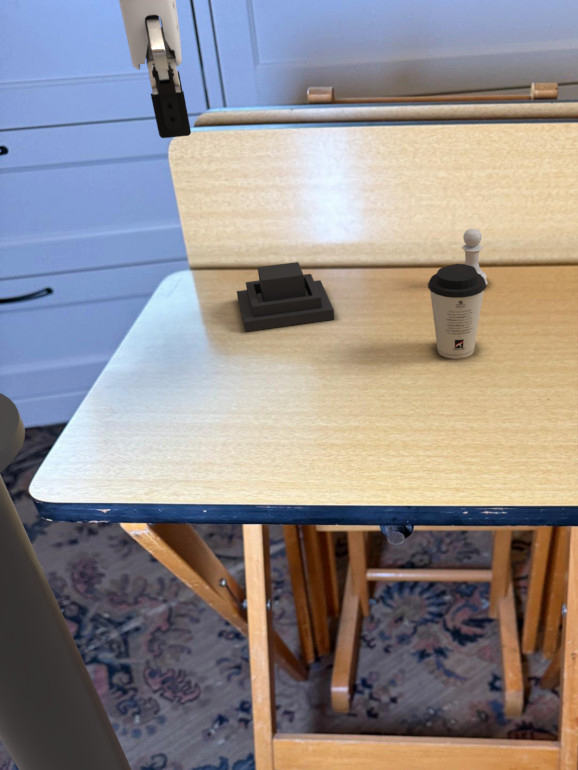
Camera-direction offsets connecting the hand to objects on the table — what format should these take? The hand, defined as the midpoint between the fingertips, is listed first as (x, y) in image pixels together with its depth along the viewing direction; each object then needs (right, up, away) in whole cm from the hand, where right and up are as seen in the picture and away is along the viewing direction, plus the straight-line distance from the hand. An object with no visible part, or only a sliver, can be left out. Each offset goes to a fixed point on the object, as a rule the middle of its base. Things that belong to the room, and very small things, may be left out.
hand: (173, 124), depth 85 cm
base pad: (+8, -13, +25) cm, 29 cm away
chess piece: (+35, -8, +30) cm, 46 cm away
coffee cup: (+31, -21, +15) cm, 40 cm away
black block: (+8, -12, +24) cm, 28 cm away
